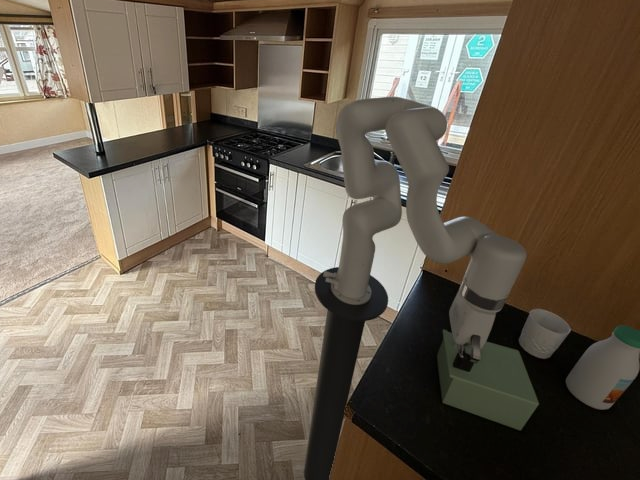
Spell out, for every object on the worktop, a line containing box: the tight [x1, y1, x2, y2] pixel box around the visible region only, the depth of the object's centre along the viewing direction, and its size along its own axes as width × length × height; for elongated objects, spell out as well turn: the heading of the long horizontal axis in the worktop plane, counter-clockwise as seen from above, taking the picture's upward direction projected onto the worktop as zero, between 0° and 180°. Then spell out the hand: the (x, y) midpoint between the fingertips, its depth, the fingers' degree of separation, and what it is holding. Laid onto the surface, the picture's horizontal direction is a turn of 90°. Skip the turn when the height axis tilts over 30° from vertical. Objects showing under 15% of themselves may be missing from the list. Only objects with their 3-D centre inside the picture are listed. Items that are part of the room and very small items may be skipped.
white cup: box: [518, 308, 572, 360], centre depth 81 cm, size 8×8×10 cm
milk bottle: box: [565, 324, 640, 411], centre depth 68 cm, size 8×8×20 cm
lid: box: [442, 328, 540, 407], centre depth 68 cm, size 15×13×5 cm
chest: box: [436, 338, 538, 432], centre depth 71 cm, size 15×13×9 cm
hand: (457, 349), depth 70 cm, fingers open, 9 cm apart
